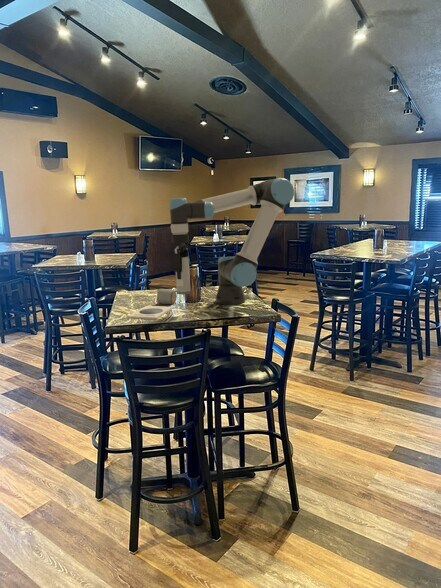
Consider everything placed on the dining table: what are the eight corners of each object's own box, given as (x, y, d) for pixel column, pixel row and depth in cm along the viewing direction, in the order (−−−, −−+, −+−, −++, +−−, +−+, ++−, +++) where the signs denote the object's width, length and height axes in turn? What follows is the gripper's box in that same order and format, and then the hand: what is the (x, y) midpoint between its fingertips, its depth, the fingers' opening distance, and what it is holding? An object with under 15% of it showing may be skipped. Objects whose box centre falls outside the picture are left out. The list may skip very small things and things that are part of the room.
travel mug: (186, 290, 204) (183, 248, 200) (193, 293, 198) (190, 249, 194) (174, 292, 200) (171, 249, 196) (180, 295, 195) (178, 250, 191)
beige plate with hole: (173, 308, 211) (173, 306, 210) (157, 319, 192) (156, 317, 192) (146, 307, 214) (146, 305, 214) (127, 317, 195) (127, 315, 195)
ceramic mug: (172, 305, 216) (171, 290, 215) (156, 305, 219) (156, 290, 217) (179, 301, 226) (179, 286, 225) (165, 300, 229) (164, 286, 227)
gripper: (179, 232, 204) (182, 280, 208) (164, 235, 185) (167, 288, 190) (194, 231, 202) (197, 280, 207) (180, 235, 184) (183, 288, 188)
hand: (182, 284), depth 198 cm, fingers closed on travel mug, 6 cm apart
